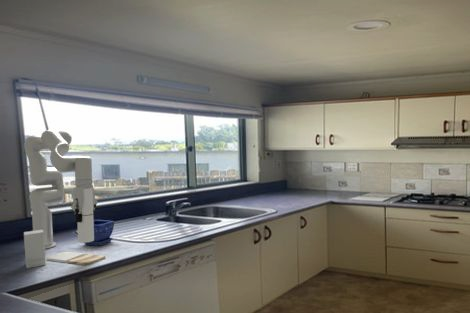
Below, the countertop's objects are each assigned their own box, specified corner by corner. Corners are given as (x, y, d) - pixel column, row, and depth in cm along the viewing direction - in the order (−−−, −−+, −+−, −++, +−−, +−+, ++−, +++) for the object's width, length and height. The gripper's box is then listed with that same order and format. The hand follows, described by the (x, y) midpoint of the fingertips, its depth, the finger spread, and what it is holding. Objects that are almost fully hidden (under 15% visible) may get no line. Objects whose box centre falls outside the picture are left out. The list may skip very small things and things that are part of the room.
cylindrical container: (80, 243, 188) (78, 189, 187) (76, 240, 194) (74, 188, 193) (96, 240, 193) (94, 188, 191) (91, 238, 198) (89, 186, 197)
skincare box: (45, 261, 193) (43, 229, 192) (45, 265, 187) (44, 231, 186) (25, 264, 189) (23, 231, 188) (25, 268, 183) (23, 234, 182)
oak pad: (67, 262, 191) (67, 260, 191) (85, 255, 202) (85, 253, 202) (87, 265, 186) (87, 263, 186) (105, 258, 197) (105, 256, 197)
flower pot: (96, 239, 234) (95, 219, 233) (115, 241, 229) (114, 220, 229) (79, 245, 221) (79, 223, 221) (100, 247, 217) (99, 225, 216)
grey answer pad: (46, 260, 196) (46, 258, 196) (65, 253, 207) (65, 251, 207) (65, 262, 191) (65, 260, 191) (84, 255, 202) (84, 253, 202)
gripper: (90, 180, 202) (92, 216, 202) (63, 184, 186) (65, 223, 186) (102, 181, 199) (104, 217, 200) (76, 185, 183) (77, 224, 183)
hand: (85, 220), depth 193 cm, fingers closed on cylindrical container, 7 cm apart
